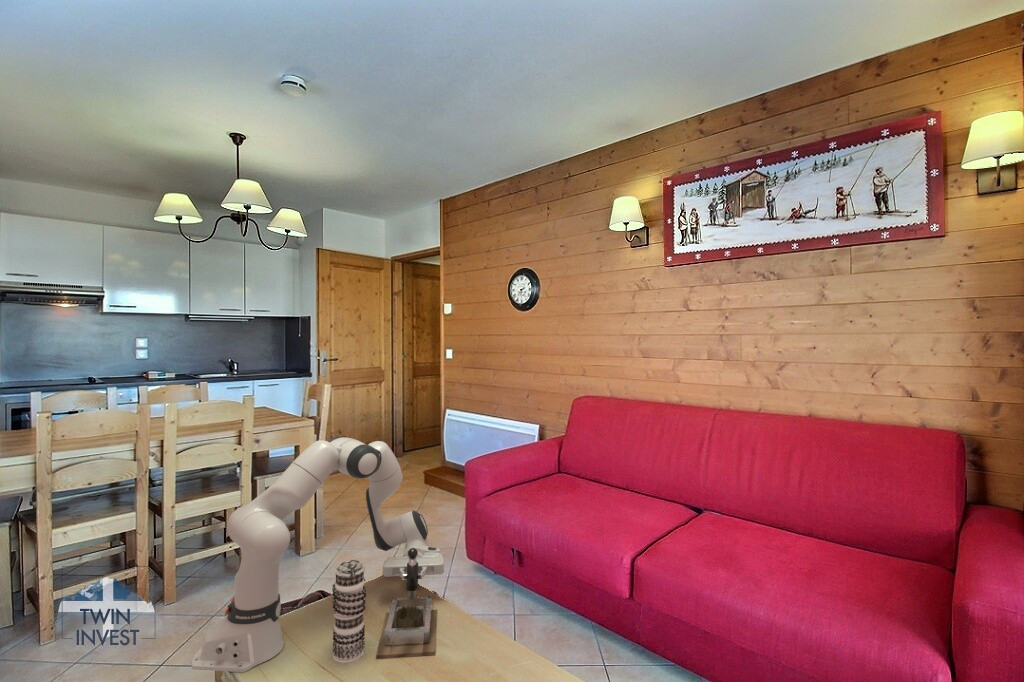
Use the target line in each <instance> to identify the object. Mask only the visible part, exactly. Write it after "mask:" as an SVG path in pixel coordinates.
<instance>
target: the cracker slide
mask: <svg viewBox="0 0 1024 682" xmlns="http://www.w3.org/2000/svg"><path fill="white" fill-rule="evenodd" d="M417 555H418V551H417V549H415V548H411V549H410V550H409V551H408V557H409V562H408V563H407V580H406V591H407V592H408V596H407V597H394V598H392V600H391V605H390V609H389V612H390V613H389V617H388V622H387V627H386V629H385V645H392V646H393V645H409V644H423V643H429V637H430V622H431V610H432V607H433V606H432V604H433V603H432V601H433V600H432V599H433V597H432V596H430V595H429V596H417V590H418V589H419V579H418V562H416V557H417ZM408 605H409V606H412V605H413V606H423V609H425V610H426V615H425V627H409V628H393V627H394V622H395V617H396V610H397V607H402V606H404V607H407V606H408Z"/></svg>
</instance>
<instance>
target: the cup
mask: <svg viewBox="0 0 1024 682" xmlns="http://www.w3.org/2000/svg"><path fill="white" fill-rule="evenodd" d="M420 619H421V609H420V610H419V607H418V608H416V606H413V605H412V606H411V607H410V608H409V605H408V606H407V608H405V607H404V606H402V607H401V609H400V608H399V609H398V613H396V622H397V628H409V627H419V625H420Z"/></svg>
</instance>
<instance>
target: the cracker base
mask: <svg viewBox="0 0 1024 682" xmlns="http://www.w3.org/2000/svg"><path fill="white" fill-rule="evenodd" d="M410 607H411V606H409V608H410ZM418 607H419V610H420V609H421V619H420V625H419V627H425V615H426V609H424V608H423V606H416V608H418ZM399 608H400V609H401V607H397V610H396V613H398V609H399ZM405 608H407V607H405ZM389 613H390V611H388V612H386V611H385V616H384V620H383V624H382V629H381V633H380V636H379V641H378V647H377V650H376V655H375V659H376V660H381V659H382V660H385V659H395V658H397V659H398V658H413V657H414V658H415V657H426V656H427V657H429V656H435V655H436V640H437V639H436V635H437V621H438V620H437V616H438V614H437V613H438V609H431V622H430V637H429V643H416V644H400V645H385V629H386V627H387V622H388V617H389ZM393 628H397V622H396V617H395V622H394V627H393Z"/></svg>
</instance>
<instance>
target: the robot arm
mask: <svg viewBox="0 0 1024 682" xmlns="http://www.w3.org/2000/svg"><path fill="white" fill-rule="evenodd" d="M336 471H338V472H339V473H342V474H344V475H347V476H350V477H352V478H353V479H354V478H355V479H366V478H368V481H369V486H368V487H367V488H366V490H365V501H366V506H367V511H368V516H369V520H370V523H371V524H370V525H371V528H372V533H373V541H374V544H375V547H376V548H378V549H379V550H381V551H384V552H388V551H389V550H391V549H394V548H396V547H398V546H401V545H402V544H405V545H404V551H403V553H402V556H391V557H390V556H389V557H388V558H387V559H385V560H384V562H383V565H382V576H383V577H386V578H389V577H390V578H391V577H400V578H401V580H402V581H407V563H408V562H409V557H408V551H409V550H410V549H411V548H415V549H417V551H418V555H417V557H416V562H418V580H423V577H425V576H428V575H429V576H431V575H441V574H444V572H445V560H444V556H443V554H442V553H441V549H440V547H439V548H438V547H431V546H430V542H429V539H428V534H429V533H428V532H429V530H428V525H427V521H426V520H425V518H424V515H423V514H421V513H419V512H418V511H417V510H411V511H409V512H405V513H402V514H400V515H398V516H395V517H393V518H390V519H384V517H383V514H382V513H383V512H382V510H381V505H382V504H383V503H384V502H385V501H386V500H387V499H389V498H391V497H392V496H393V495H394V494H395V493H396V492H398V489H400V487H401V485H402V482H403V479H404V478H403V471H402V469H401V465H400V464H399V461H398V459H397V457H396V456H395V454H394V452H393V450H392V449H391V448H390V446H389V445H388V443H386V442H385V441H382V440H376V441H371V442H370V443H368V444H366V443H364V442H361V441H360V440H358V439H355V438H351V437H348V436H343V435H338V436H335V437H332V438H330V439H329V440H325V439H324V440H323V439H319V440H316V441H314V442H313V443H311V445H309V446H308V447H307V448H306V449H304V450H303V451H302V452H301V453H300V454H299V455H298V456H297V457H296V458H295V459H294V460H293V461H292V462H291V463H290V465H289V466H287V468H286V469H285V470H284V471H283V473H282V474H281V475H280V476H279V477H278V478H277V479H276V480H275V481H274V482H273V483H272V484H271V485H270V486H269V487H268V488H267V489H265V490H264V491H263V492H262V493H261V494H259V495H258V496H256V497H255V498H254V499H252V500H251V501H250V502H248V503H247V504H244V505H242V506H240V507H238V508H237V509H235V510H234V511H233V512H232V513H231V514H230V516H229V517H228V520H227V526H226V527H227V531H228V534H229V537H230V538H231V540H232V542H234V543H235V544H236V545H237V546H238V547H239V549H240V551H241V561H240V564H239V568H238V571H237V572H236V574H235V576H234V596H233V597H232V599H231V600H230V603H229V604H228V605H227V608H226V609H225V611H224V616H225V617H224V618H222V619H221V620H219V621H218V622H217V623H215V625H214V626H212V628H211V629H210V630H209V631H208V632H207V634H206V636H205V638H204V641H203V643H202V645H201V646H200V647H199V648H198V650H197V651H196V652H195V654H194V656H193V657H192V660H191V665H190V666H191V670H197V671H198V670H199V671H215V672H228V673H229V672H232V673H245V672H247V671H249V670H250V669H252V668H254V667H255V666H257V665H260V664H263V663H265V662H267V661H268V660H271V659H272V658H274V657H275V656H277V655H278V654H279V653H280V652H281V651H282V650H283V648H284V646H285V640H284V638H283V633H282V629H281V623H280V622H281V621H280V615H281V604H282V603H281V595H280V593H279V588H280V587H279V584H280V583H279V582H280V580H279V579H280V567H281V561H282V558H283V555H284V554H285V552H286V550H287V549H288V548H289V545H290V542H291V534H290V530H289V528H288V526H287V525H286V523H285V522H284V521H283V520H284V519H285V518H287V517H288V516H289V515H290V514H293V512H296V511H298V510H300V509H302V508H304V506H305V505H307V504H308V502H309V501H310V500H311V498H312V497H313V496H314V495H315V494H316V492H317V491H318V490H319V489H320V488H321V487H322V485H323V484H324V483H325V481H326V480H327V478H329V476H330V475H331V474H333V473H334V472H336Z"/></svg>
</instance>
